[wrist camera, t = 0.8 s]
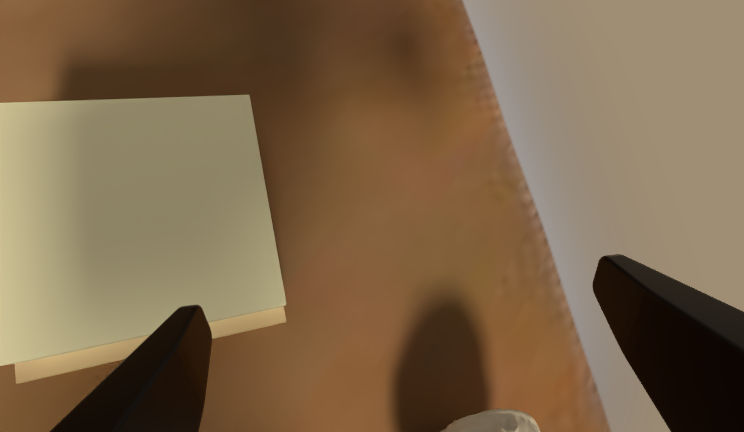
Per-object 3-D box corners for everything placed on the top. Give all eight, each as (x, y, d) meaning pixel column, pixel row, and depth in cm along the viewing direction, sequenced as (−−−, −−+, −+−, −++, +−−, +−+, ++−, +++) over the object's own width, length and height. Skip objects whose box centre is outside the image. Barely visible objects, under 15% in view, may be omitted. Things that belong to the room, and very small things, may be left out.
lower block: (278, 323, 22) (286, 321, 19) (47, 376, 18) (16, 384, 16) (247, 144, 24) (250, 119, 21) (31, 160, 20) (1, 133, 17)
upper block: (277, 308, 19) (286, 304, 16) (38, 359, 16) (0, 365, 13) (246, 125, 21) (249, 94, 18) (23, 138, 18) (-14, 103, 15)
